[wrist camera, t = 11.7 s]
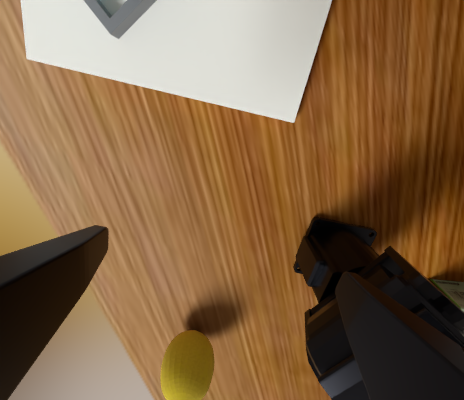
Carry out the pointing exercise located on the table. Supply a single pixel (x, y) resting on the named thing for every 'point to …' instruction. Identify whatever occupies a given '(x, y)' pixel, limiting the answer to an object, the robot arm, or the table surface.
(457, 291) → the medication box
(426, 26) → the table surface
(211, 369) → the lemon
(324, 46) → the table surface
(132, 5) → the socket
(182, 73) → the baseplate
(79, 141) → the table surface
